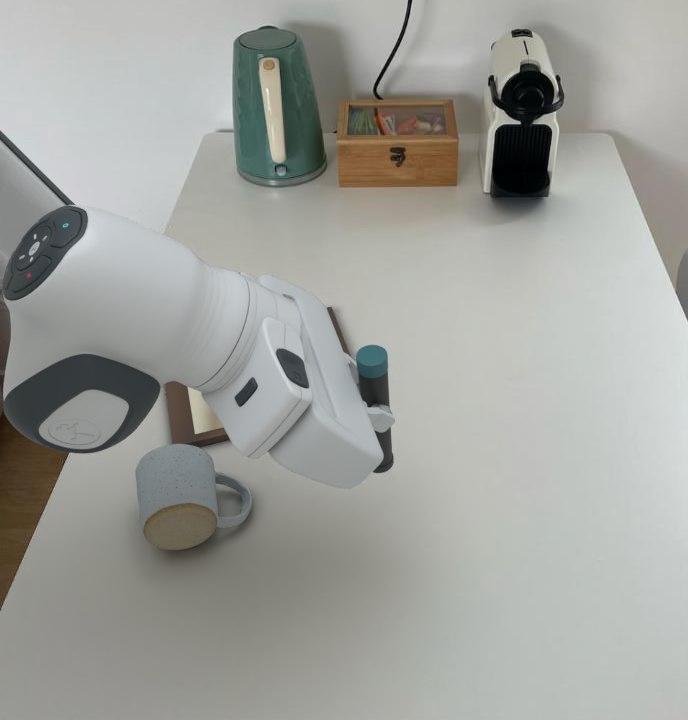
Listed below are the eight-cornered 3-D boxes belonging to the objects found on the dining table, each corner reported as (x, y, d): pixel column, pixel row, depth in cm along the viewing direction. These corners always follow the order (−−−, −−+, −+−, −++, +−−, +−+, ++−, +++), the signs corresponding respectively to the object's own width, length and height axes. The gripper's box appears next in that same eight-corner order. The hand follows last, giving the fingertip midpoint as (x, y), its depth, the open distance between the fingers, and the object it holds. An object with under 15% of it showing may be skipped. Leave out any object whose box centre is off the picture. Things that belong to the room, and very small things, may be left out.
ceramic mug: (151, 564, 78) (131, 515, 73) (145, 499, 84) (127, 450, 79) (259, 536, 81) (248, 487, 75) (247, 475, 86) (235, 426, 81)
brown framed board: (175, 452, 89) (172, 445, 88) (161, 349, 102) (159, 342, 101) (368, 405, 93) (367, 398, 92) (332, 312, 106) (331, 305, 105)
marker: (369, 476, 71) (360, 369, 63) (361, 455, 73) (351, 348, 64) (397, 469, 72) (392, 361, 63) (388, 448, 74) (382, 341, 65)
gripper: (203, 292, 68) (329, 352, 76) (242, 473, 53) (391, 522, 62) (248, 237, 66) (371, 305, 74) (300, 409, 51) (447, 470, 60)
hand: (381, 405), depth 68 cm, fingers closed on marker, 2 cm apart
